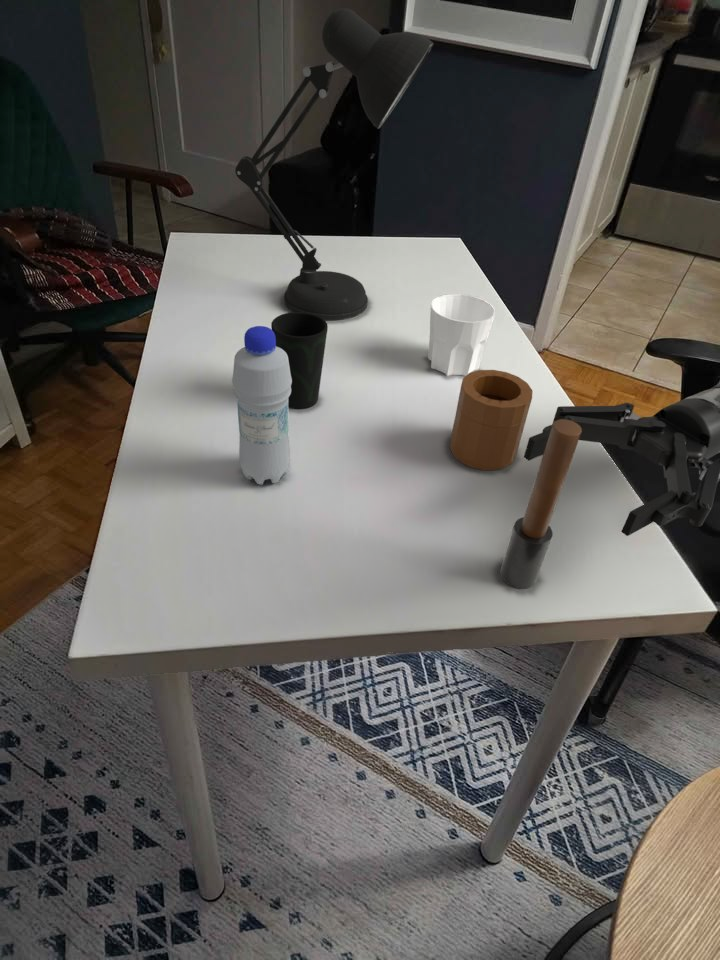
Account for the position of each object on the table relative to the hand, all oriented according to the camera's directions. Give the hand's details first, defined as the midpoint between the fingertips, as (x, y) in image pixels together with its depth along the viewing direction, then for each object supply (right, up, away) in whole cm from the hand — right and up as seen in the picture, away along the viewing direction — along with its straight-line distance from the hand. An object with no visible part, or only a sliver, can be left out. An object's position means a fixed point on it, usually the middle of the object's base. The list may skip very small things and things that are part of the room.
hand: (575, 484), depth 67 cm
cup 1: (-31, +12, +29) cm, 44 cm away
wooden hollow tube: (-5, +5, +22) cm, 23 cm away
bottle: (-34, +1, +15) cm, 38 cm away
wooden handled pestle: (-5, -10, +5) cm, 12 cm away
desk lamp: (-28, +34, +55) cm, 70 cm away
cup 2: (-7, +20, +40) cm, 45 cm away
